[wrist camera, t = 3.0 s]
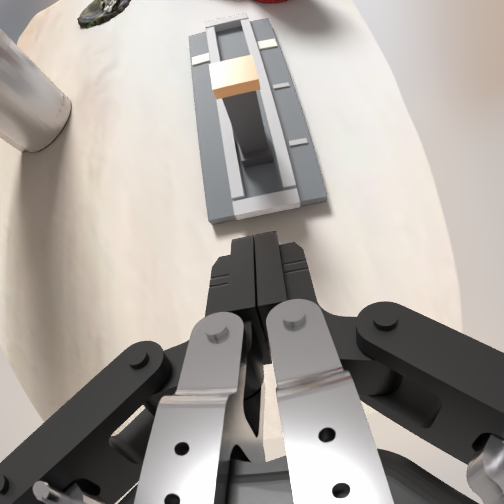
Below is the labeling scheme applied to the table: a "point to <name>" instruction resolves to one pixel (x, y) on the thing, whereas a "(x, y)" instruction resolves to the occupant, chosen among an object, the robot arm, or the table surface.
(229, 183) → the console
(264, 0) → the canned food
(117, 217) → the table surface
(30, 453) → the robot arm
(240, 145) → the fader tab
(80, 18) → the grey rough oval piece
